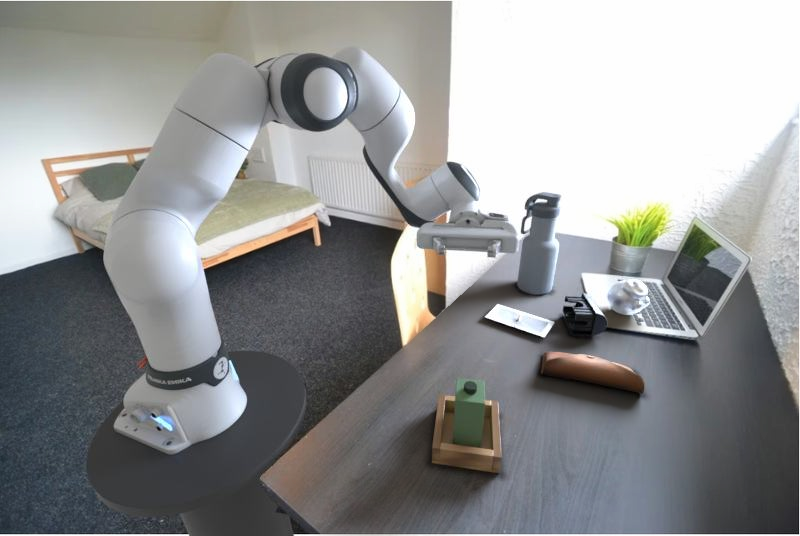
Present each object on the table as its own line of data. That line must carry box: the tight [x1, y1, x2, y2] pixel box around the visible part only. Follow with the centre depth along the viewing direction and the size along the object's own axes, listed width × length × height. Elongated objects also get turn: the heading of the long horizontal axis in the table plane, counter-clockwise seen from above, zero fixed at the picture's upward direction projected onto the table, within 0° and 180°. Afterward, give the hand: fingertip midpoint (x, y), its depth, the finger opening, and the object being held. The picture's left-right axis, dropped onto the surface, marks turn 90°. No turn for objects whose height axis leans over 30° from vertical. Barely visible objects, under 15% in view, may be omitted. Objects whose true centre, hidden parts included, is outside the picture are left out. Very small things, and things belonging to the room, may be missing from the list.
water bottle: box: [516, 191, 562, 296], centre depth 104 cm, size 10×10×28 cm
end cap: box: [562, 292, 609, 338], centre depth 90 cm, size 10×7×7 cm
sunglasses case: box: [540, 351, 645, 395], centre depth 75 cm, size 18×7×7 cm
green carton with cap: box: [453, 377, 486, 448], centre depth 61 cm, size 4×5×11 cm
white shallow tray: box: [484, 303, 556, 338], centre depth 93 cm, size 8×15×2 cm, turn 53°
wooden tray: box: [431, 393, 503, 474], centre depth 62 cm, size 10×11×4 cm
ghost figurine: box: [606, 278, 651, 316], centre depth 95 cm, size 9×10×10 cm
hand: (465, 252), depth 69 cm, fingers open, 8 cm apart
